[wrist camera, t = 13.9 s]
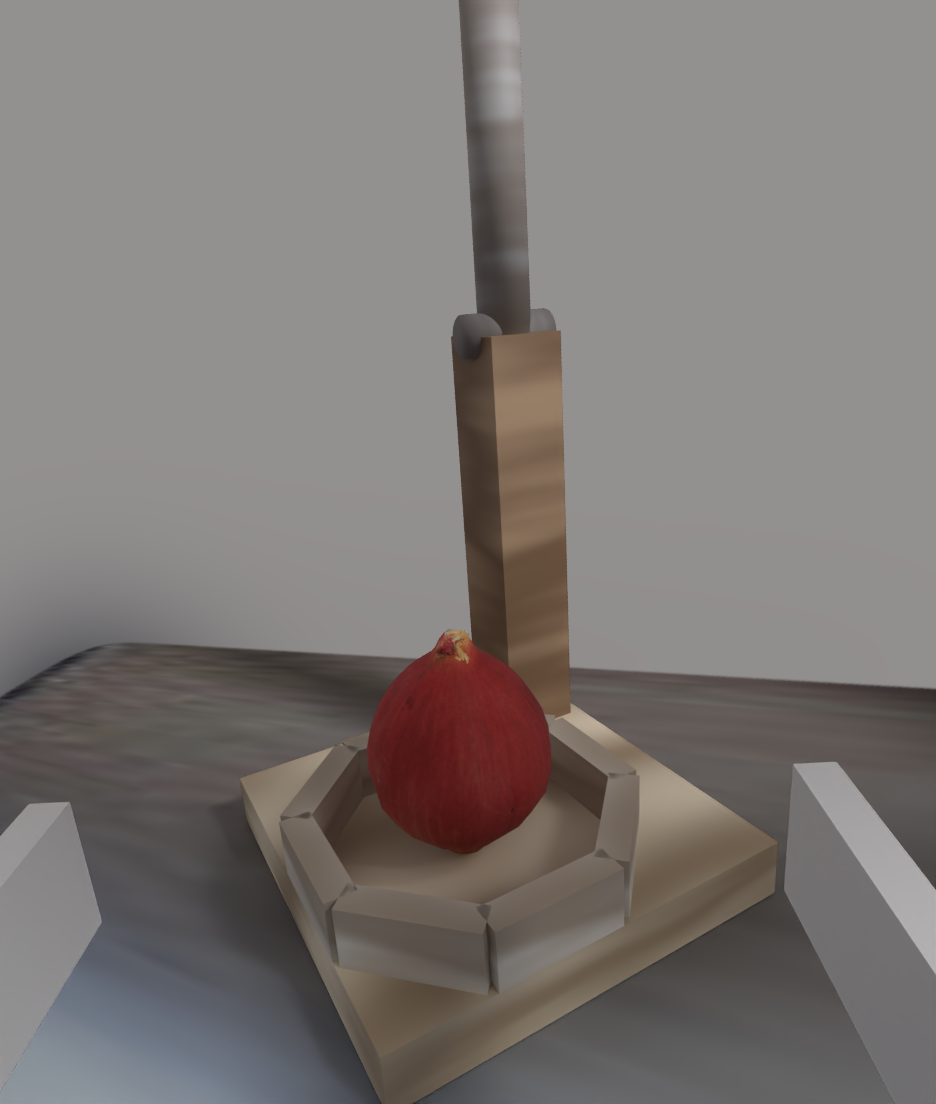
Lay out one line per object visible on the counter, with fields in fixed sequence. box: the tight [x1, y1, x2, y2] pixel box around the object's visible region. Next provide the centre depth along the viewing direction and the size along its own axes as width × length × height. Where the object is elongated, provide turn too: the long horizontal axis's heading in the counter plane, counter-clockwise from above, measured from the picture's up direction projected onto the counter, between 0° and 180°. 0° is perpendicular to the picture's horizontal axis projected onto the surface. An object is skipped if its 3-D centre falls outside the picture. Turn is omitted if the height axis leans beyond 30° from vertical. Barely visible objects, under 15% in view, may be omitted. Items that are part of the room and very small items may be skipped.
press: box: [240, 0, 778, 1104], centre depth 23 cm, size 14×14×37 cm
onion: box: [367, 629, 551, 854], centre depth 25 cm, size 6×6×8 cm
